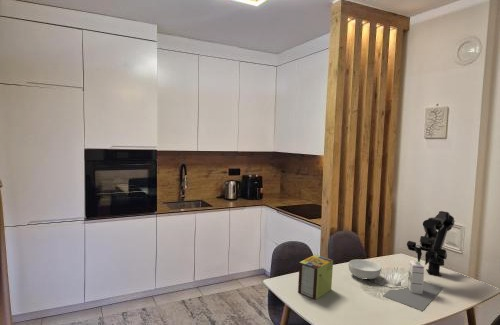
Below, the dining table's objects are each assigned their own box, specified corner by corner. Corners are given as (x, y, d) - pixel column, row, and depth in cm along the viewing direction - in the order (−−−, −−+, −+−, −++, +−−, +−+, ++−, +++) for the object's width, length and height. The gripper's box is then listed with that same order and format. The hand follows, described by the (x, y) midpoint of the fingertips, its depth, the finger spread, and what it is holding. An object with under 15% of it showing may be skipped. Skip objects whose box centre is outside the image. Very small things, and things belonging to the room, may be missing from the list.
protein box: (331, 289, 163) (333, 259, 162) (315, 300, 152) (317, 268, 150) (313, 282, 170) (315, 254, 169) (297, 292, 159) (298, 261, 157)
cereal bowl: (380, 274, 183) (381, 262, 183) (379, 286, 168) (380, 273, 168) (350, 268, 191) (350, 256, 190) (345, 279, 175) (346, 266, 175)
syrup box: (422, 294, 161) (425, 266, 160) (410, 292, 162) (412, 264, 161) (419, 289, 167) (421, 261, 165) (406, 287, 168) (409, 260, 167)
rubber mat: (407, 276, 182) (407, 275, 182) (442, 287, 170) (443, 287, 170) (382, 296, 158) (382, 295, 158) (422, 311, 146) (422, 310, 146)
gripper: (409, 226, 178) (400, 250, 171) (447, 234, 165) (439, 261, 158) (412, 237, 184) (404, 261, 178) (450, 246, 172) (442, 272, 165)
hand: (421, 263), depth 169 cm, fingers open, 3 cm apart
